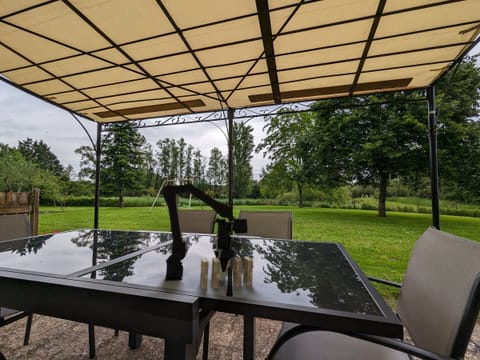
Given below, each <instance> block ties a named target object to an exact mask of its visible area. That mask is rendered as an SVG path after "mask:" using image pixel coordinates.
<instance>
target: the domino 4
mask: <svg viewBox="0 0 480 360" xmlns="http://www.w3.org/2000/svg"><path fill="white" fill-rule="evenodd" d="M232 261H233V262H232V283H233V284H234V286H235V287H236V288H241V287H242V284H243V283H242V282H243V259H241V258H240V257H239V256H235V257H233V260H232Z"/></svg>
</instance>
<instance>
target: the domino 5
mask: <svg viewBox="0 0 480 360" xmlns="http://www.w3.org/2000/svg"><path fill="white" fill-rule="evenodd" d="M253 268H254V259H252V258H251V257H250V256H243V262H242V282H243V283H244V284H245V286H247V287H253V276H254V275H253V273H254V269H253Z"/></svg>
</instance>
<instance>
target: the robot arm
mask: <svg viewBox="0 0 480 360" xmlns="http://www.w3.org/2000/svg"><path fill="white" fill-rule="evenodd" d="M161 191H162V192H161V193H162V196H163V199H164V201H165V203H166V205H167V209H168V216H169V225H170V229H171V236H172V244H171V254H170V255H169V256H168V257H167V259H165V263H166V270H165V271H166V272H165V277H164V278H165V281H179V280H182V277H184V265H183V260H184V259H185V258H186V256H187V254H188V251H189V249H190V248H189V246H188V245H189V243H188V240H187V239H184V236H183V232H182V225H181V218H180V213H179V206H178V205H179V196H181V195H185V194H190V195H192V196H193V197H195V198H197V199H198V200H199V201H201V202H202V203H204V204H206V205H207V206H209V207H210V208H211V209H212V210H213V211H214V212H215V213H216V214H217V215H219V216H220V217H221V218H219V217H217V216H216V219H214V220H213V223H214V224H217V228H216V229H217V232H216V235H215V237H216V242H214V243H212V245H211V246H212V248H211V249H212V250H213V253H214V256H215V257H214V258H218V259H219V260H220V266H221V269H222V272H225V270H226V271H227V269H226V267H227V264H228V261H229V260H230V261H231V259H232V258H233V259H234V257H236V251H235V250H237V251H241V250H242V247H243V243H242V242H241V241H238V240H239V239H238V238H236V237H232V236H231V232H233V233H234V234H237V235H241V234H242V235H247V234H248V228H249V227H248V219H247V218H235V216H234V215H233V214H232V208H231V207H230V206H229V205H227V204H225V203H223V202H221V201H219V200H216V199H214V198H212V197H211V196H210V195H208V194H207V193H205V192H204V191H202V190H201V189H199V188H198V187H196V186H195V184H193V183H186V184H180V185H179V184H178V185H171V184H168V185H164V187H163V188H162V190H161ZM226 219H227V220H229V221H226ZM234 249H235V250H234Z"/></svg>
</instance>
